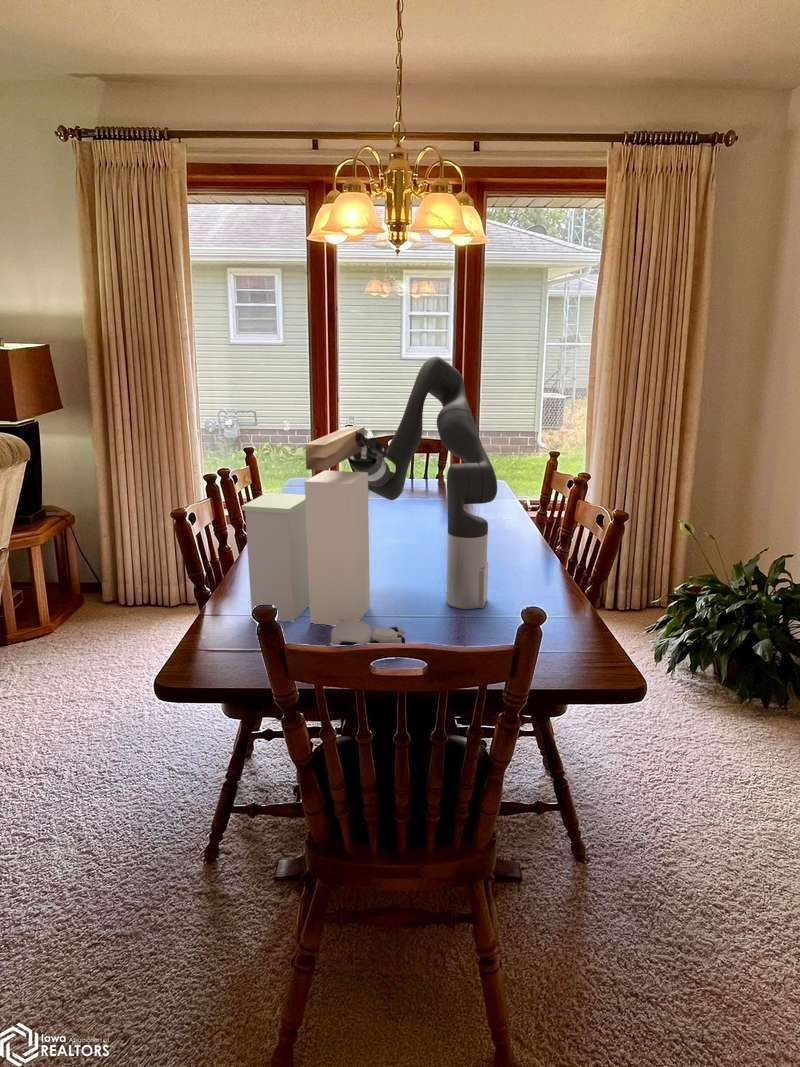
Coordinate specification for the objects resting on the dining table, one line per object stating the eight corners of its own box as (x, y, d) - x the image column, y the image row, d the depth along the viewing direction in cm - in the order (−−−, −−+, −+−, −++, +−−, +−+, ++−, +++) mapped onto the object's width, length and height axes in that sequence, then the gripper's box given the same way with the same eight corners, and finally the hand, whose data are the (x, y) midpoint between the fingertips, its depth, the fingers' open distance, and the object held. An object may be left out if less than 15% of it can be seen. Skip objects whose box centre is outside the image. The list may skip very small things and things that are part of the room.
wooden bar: (364, 448, 164) (364, 426, 163) (325, 470, 140) (324, 444, 138) (348, 448, 165) (347, 426, 163) (306, 469, 141) (305, 444, 139)
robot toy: (405, 641, 151) (334, 635, 151) (406, 621, 150) (335, 615, 150) (402, 667, 139) (325, 661, 140) (404, 646, 138) (326, 640, 138)
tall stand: (369, 608, 166) (367, 472, 157) (353, 628, 155) (350, 483, 146) (329, 604, 168) (324, 470, 159) (310, 623, 157) (304, 481, 148)
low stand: (316, 601, 170) (312, 495, 162) (294, 623, 158) (289, 508, 150) (273, 597, 172) (267, 492, 165) (249, 618, 160) (241, 505, 153)
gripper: (342, 446, 176) (319, 418, 160) (398, 448, 173) (380, 420, 156) (337, 475, 174) (314, 450, 158) (394, 477, 171) (376, 452, 155)
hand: (347, 435), depth 157 cm, fingers closed on wooden bar, 4 cm apart
